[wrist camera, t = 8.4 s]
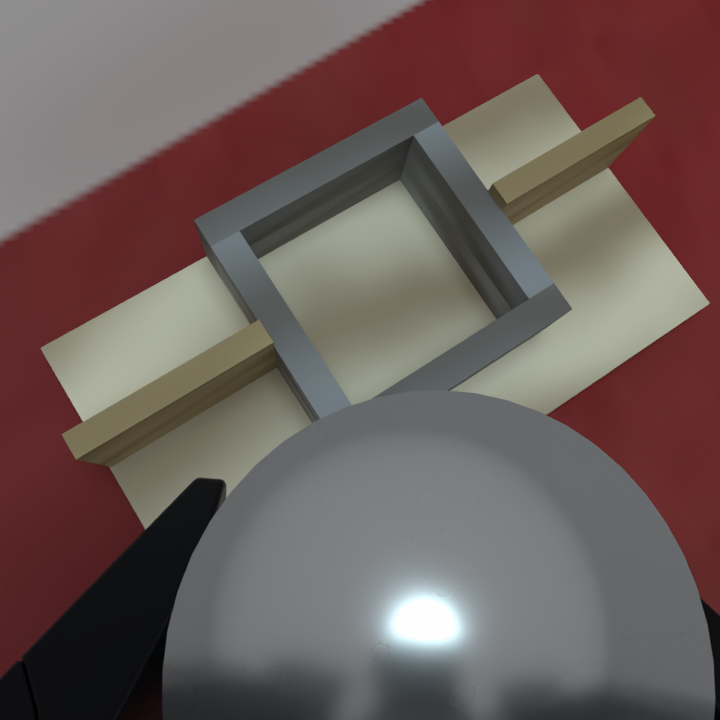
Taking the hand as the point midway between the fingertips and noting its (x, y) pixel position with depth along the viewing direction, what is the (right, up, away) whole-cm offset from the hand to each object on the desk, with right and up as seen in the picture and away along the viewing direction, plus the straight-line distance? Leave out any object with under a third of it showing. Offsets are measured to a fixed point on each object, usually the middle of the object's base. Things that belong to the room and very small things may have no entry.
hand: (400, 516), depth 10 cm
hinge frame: (0, +3, +15) cm, 15 cm away
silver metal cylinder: (-1, -3, +7) cm, 7 cm away
